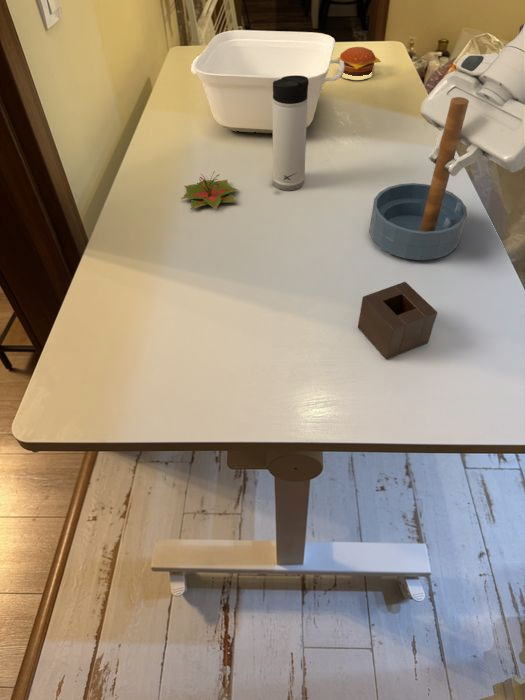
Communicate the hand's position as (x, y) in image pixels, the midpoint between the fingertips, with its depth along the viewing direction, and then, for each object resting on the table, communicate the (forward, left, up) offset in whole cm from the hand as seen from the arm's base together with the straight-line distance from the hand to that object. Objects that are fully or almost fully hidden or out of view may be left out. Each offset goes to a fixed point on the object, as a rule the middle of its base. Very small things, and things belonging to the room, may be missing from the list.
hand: (440, 166), depth 79 cm
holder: (+11, +21, -14) cm, 27 cm away
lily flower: (+36, -20, -14) cm, 44 cm away
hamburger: (-6, -77, -14) cm, 79 cm away
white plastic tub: (+21, -53, -14) cm, 59 cm away
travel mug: (+20, -23, -14) cm, 34 cm away
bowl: (+1, -2, -14) cm, 15 cm away
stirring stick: (0, 0, -12) cm, 12 cm away
